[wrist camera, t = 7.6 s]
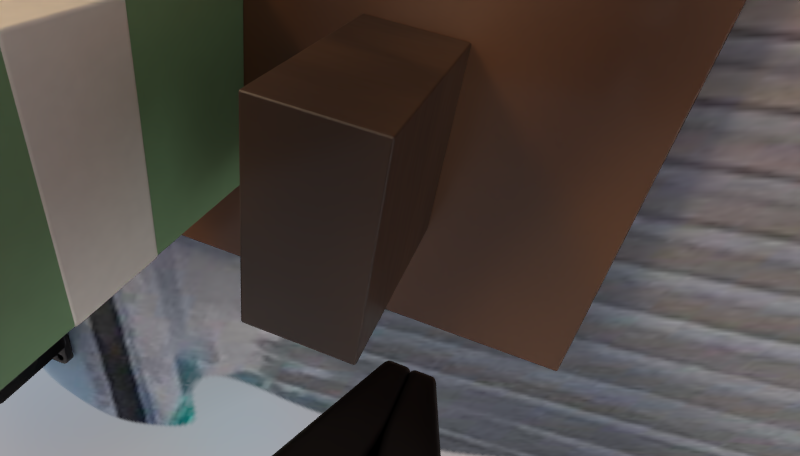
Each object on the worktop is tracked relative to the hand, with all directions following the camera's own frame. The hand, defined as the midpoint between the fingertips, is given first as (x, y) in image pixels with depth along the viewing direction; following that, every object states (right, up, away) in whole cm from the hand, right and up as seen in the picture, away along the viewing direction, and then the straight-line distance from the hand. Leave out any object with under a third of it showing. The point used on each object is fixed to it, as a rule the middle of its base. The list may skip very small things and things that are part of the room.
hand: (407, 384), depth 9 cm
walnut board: (-4, +7, +8) cm, 11 cm away
